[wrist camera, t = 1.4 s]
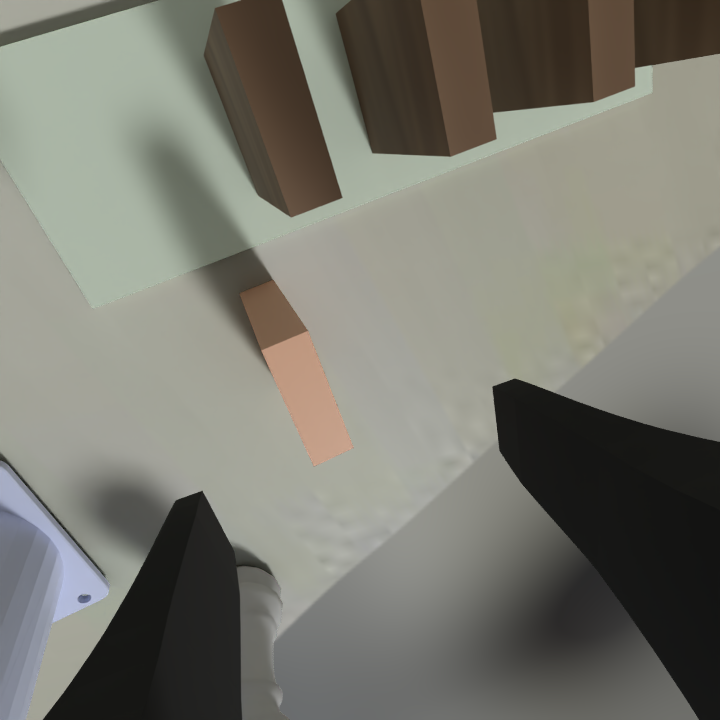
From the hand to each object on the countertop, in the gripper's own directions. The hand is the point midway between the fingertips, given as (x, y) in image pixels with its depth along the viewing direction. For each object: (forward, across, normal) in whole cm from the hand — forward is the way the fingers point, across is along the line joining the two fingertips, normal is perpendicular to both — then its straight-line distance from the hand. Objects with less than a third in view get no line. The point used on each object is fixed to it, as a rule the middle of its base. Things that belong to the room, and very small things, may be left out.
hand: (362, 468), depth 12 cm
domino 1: (+10, 0, -8) cm, 12 cm away
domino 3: (+10, -9, -8) cm, 16 cm away
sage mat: (+10, -5, -8) cm, 14 cm away
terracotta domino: (+10, +1, 0) cm, 10 cm away
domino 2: (+10, -5, -8) cm, 13 cm away
